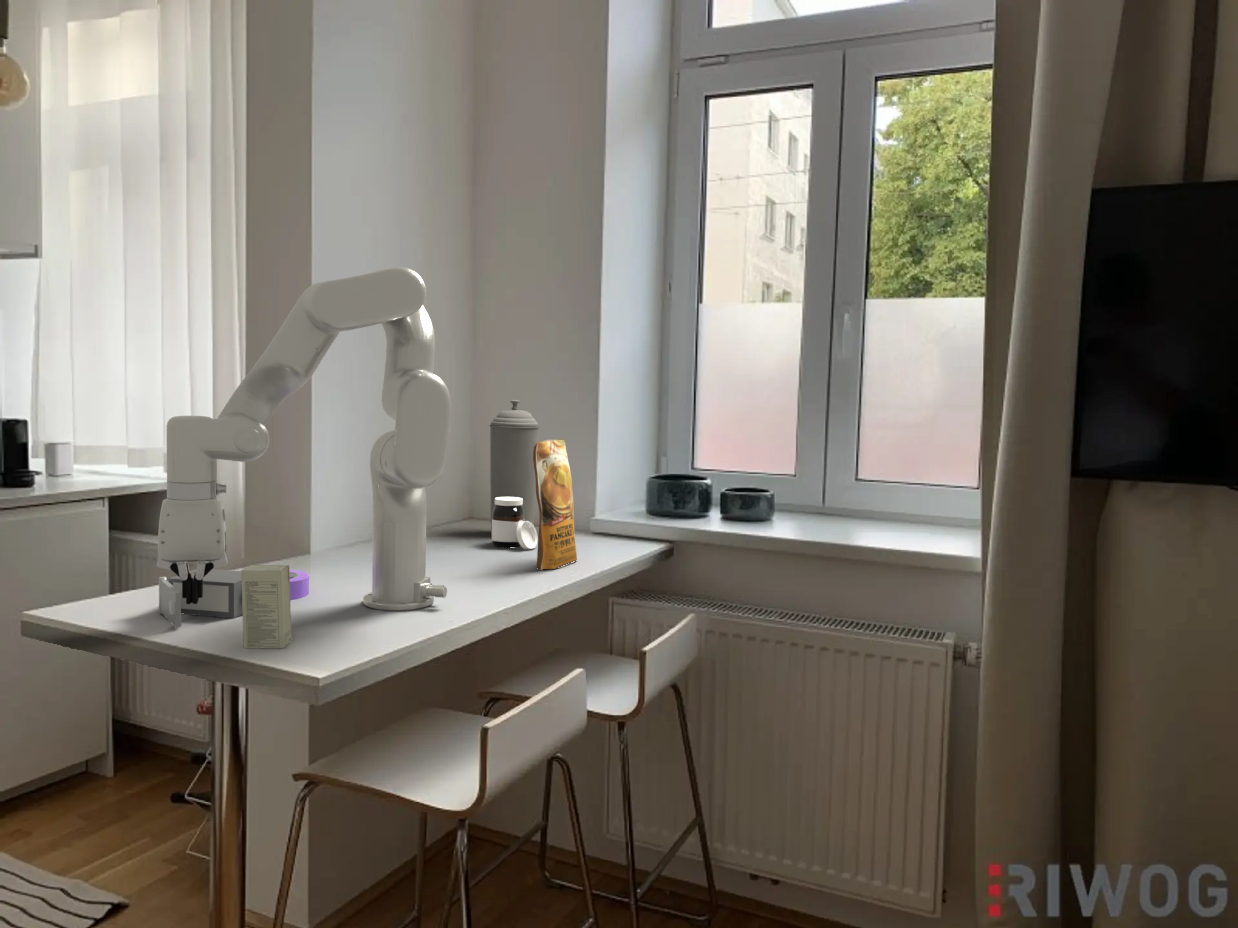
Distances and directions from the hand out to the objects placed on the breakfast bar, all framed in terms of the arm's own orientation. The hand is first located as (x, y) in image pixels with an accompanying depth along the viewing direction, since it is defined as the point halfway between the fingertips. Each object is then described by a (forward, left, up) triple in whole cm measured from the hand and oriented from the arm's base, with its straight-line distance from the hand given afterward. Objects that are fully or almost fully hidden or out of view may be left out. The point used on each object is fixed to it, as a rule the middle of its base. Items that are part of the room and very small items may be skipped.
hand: (192, 602), depth 164 cm
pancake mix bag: (-46, -67, -4) cm, 81 cm away
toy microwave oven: (+1, -9, -3) cm, 10 cm away
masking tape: (-3, -22, -4) cm, 23 cm away
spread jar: (-32, -85, -4) cm, 90 cm away
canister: (-27, -100, -4) cm, 104 cm away
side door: (+4, 0, -3) cm, 5 cm away
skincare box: (-18, +8, -4) cm, 20 cm away
